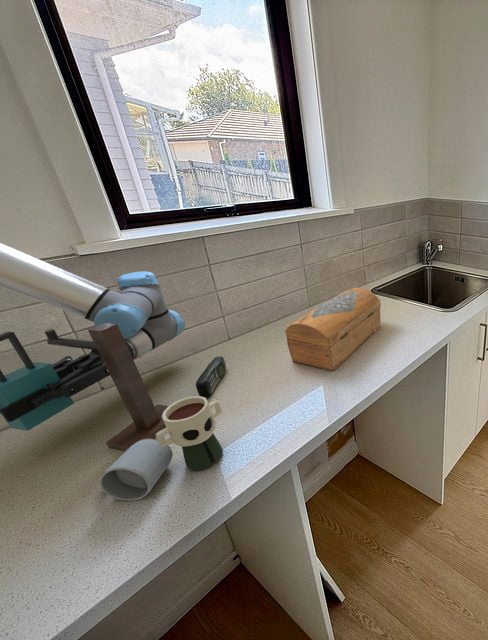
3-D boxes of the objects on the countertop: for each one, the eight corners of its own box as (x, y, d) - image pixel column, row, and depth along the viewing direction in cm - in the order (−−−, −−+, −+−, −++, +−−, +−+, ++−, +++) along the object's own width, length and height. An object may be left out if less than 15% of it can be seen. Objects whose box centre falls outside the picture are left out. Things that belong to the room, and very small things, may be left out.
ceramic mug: (181, 461, 66) (167, 431, 63) (156, 498, 59) (139, 467, 55) (122, 467, 65) (105, 437, 61) (90, 506, 57) (68, 475, 54)
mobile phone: (205, 383, 81) (226, 350, 94) (192, 384, 80) (214, 351, 93) (211, 399, 83) (230, 365, 96) (198, 400, 83) (219, 366, 96)
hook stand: (67, 441, 71) (0, 335, 59) (122, 404, 81) (74, 308, 70) (137, 452, 68) (80, 344, 57) (185, 412, 78) (145, 314, 67)
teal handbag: (11, 428, 64) (-47, 348, 56) (59, 401, 71) (13, 326, 63) (27, 431, 63) (-29, 350, 55) (74, 403, 70) (30, 328, 62)
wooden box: (343, 319, 124) (339, 284, 118) (383, 326, 119) (381, 290, 113) (286, 360, 99) (277, 318, 93) (333, 372, 93) (327, 328, 87)
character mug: (186, 488, 61) (161, 434, 55) (166, 471, 64) (141, 419, 58) (242, 448, 69) (226, 398, 63) (222, 435, 72) (205, 386, 67)
